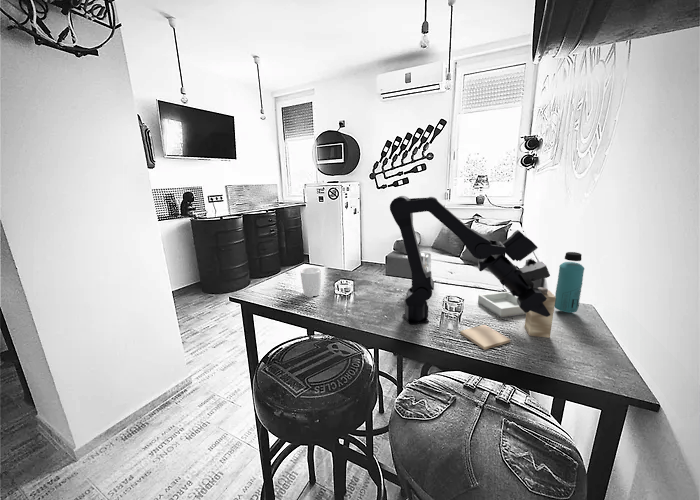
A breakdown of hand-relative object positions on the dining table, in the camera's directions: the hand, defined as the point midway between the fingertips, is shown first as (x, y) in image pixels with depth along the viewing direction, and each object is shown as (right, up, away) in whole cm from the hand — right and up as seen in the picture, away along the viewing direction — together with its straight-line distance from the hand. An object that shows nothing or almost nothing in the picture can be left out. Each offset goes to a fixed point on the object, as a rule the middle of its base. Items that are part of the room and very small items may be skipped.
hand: (545, 311), depth 81 cm
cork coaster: (-17, -7, 0) cm, 19 cm away
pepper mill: (-1, -6, +2) cm, 7 cm away
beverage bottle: (+15, -3, +13) cm, 20 cm away
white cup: (-70, -1, +35) cm, 78 cm away
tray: (-2, -2, +18) cm, 18 cm away
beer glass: (-26, +1, +35) cm, 44 cm away
